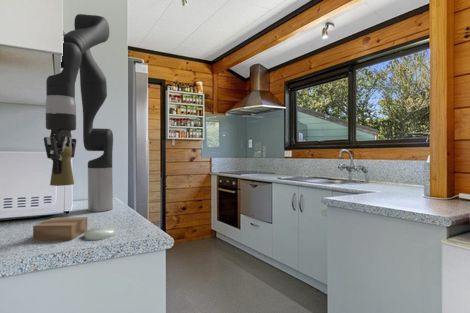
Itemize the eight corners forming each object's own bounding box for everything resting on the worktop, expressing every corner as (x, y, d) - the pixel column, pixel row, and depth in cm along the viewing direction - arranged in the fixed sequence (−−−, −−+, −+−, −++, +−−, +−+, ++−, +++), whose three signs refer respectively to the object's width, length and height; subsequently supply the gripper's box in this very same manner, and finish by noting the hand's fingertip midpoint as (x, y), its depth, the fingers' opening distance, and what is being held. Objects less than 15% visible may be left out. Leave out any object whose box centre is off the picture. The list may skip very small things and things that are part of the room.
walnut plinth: (53, 230, 90) (53, 217, 90) (87, 230, 91) (87, 217, 91) (33, 240, 80) (33, 226, 80) (71, 240, 81) (71, 225, 81)
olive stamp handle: (63, 186, 82) (62, 146, 82) (44, 185, 83) (44, 145, 83) (78, 183, 88) (78, 146, 88) (61, 182, 89) (60, 146, 89)
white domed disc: (91, 233, 89) (91, 227, 89) (118, 232, 90) (118, 226, 90) (79, 241, 81) (79, 234, 81) (109, 240, 82) (109, 234, 82)
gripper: (60, 116, 92) (60, 171, 92) (32, 109, 78) (32, 175, 78) (85, 116, 92) (85, 171, 93) (62, 110, 78) (62, 175, 79)
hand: (61, 173), depth 86 cm, fingers closed on olive stamp handle, 4 cm apart
